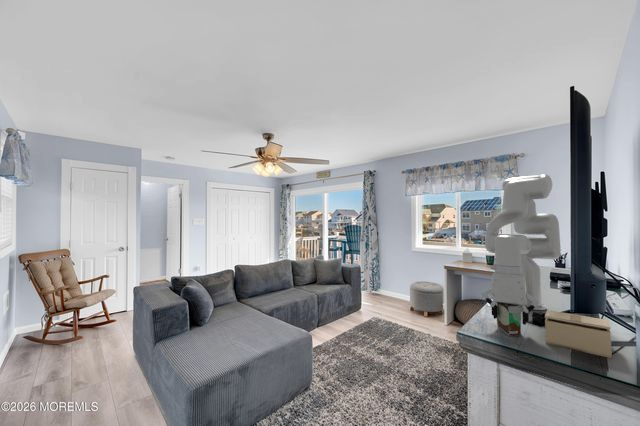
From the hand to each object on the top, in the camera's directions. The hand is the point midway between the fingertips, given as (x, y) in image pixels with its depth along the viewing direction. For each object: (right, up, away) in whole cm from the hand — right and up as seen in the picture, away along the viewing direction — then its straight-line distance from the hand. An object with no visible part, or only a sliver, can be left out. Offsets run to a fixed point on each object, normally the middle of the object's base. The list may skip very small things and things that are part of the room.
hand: (509, 320), depth 94 cm
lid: (+13, +4, -11) cm, 17 cm away
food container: (+1, -4, -1) cm, 4 cm away
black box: (+17, -5, +8) cm, 19 cm away
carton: (+13, -3, -11) cm, 17 cm away
